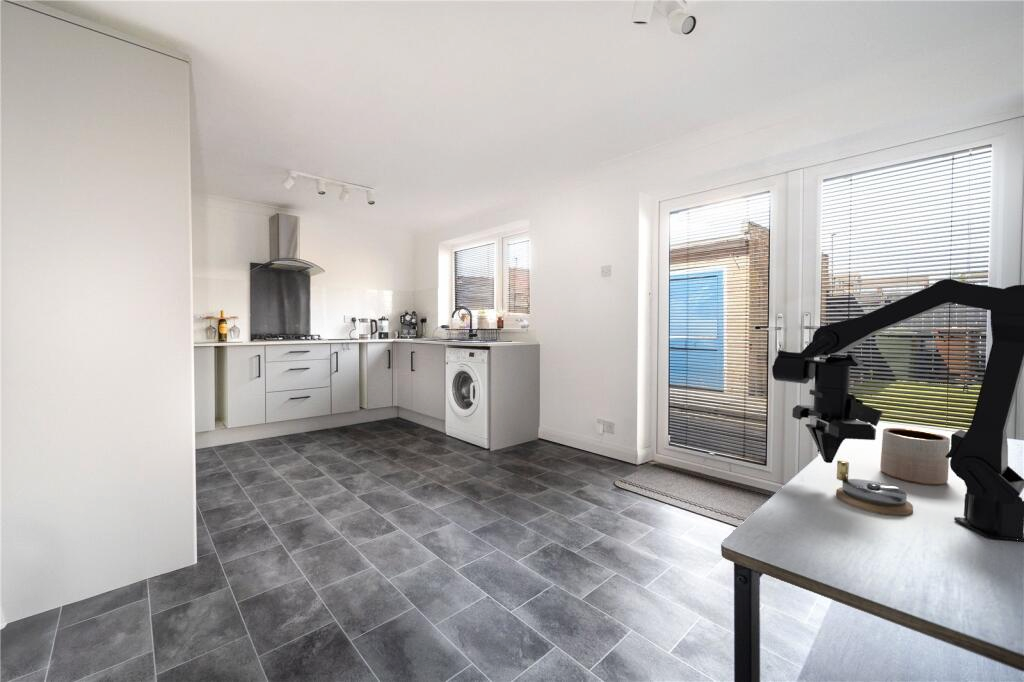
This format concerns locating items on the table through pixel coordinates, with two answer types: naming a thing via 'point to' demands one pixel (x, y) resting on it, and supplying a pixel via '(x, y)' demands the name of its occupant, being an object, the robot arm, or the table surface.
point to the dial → (869, 489)
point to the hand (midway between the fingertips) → (827, 462)
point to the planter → (915, 456)
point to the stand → (875, 505)
